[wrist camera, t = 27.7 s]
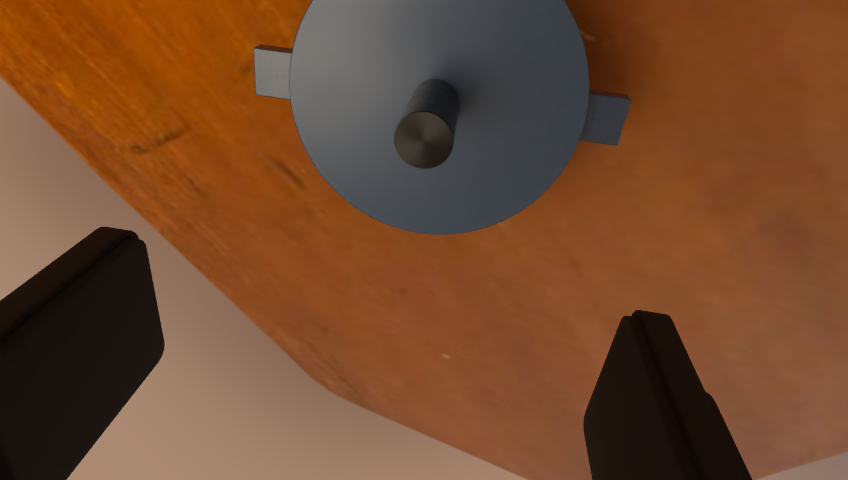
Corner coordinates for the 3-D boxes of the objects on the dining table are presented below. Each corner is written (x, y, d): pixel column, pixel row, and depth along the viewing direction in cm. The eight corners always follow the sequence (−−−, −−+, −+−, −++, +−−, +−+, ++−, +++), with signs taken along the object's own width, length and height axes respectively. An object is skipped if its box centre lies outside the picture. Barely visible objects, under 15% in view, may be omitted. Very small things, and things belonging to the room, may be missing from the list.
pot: (288, -79, 29) (239, -83, 23) (637, -34, 28) (676, -27, 22) (291, 156, 35) (255, 196, 30) (573, 196, 35) (590, 245, 29)
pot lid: (293, -89, 23) (230, -99, 18) (624, -47, 23) (671, -43, 17) (297, 206, 31) (253, 266, 25) (547, 242, 30) (562, 313, 24)
